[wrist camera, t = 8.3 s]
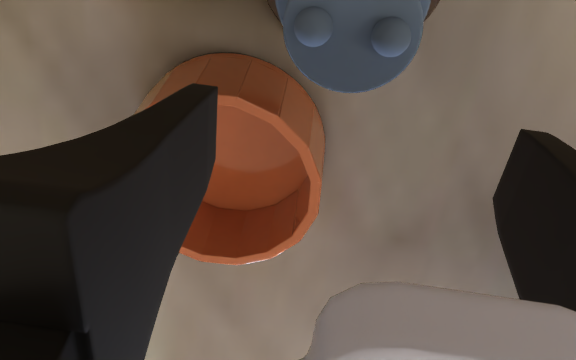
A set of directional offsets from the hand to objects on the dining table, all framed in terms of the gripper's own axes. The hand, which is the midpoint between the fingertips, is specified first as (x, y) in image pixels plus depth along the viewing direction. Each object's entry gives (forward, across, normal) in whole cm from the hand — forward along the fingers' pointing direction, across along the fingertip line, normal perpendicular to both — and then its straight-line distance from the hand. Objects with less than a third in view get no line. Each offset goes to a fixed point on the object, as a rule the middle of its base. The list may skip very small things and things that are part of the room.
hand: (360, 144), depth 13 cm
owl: (+10, +1, -2) cm, 10 cm away
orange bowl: (+10, +5, +7) cm, 13 cm away
